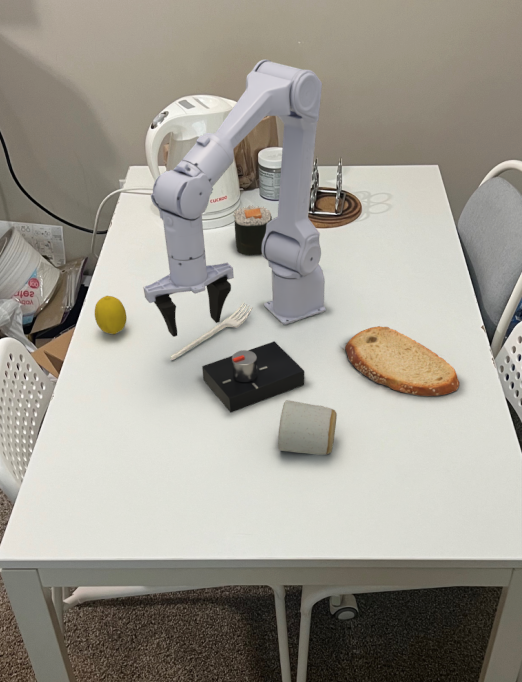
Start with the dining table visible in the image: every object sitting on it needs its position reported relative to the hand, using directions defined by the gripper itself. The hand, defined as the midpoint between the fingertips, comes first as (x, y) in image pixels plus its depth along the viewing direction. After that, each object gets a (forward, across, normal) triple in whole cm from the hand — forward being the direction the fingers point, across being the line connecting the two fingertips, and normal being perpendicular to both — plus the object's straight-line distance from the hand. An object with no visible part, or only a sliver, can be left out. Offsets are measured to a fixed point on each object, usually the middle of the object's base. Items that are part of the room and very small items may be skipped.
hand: (194, 326), depth 123 cm
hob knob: (+6, +5, -9) cm, 12 cm away
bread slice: (+9, +31, -16) cm, 36 cm away
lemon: (+9, -8, +18) cm, 22 cm away
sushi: (+9, +30, +34) cm, 46 cm away
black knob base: (+9, +7, -8) cm, 14 cm away
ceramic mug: (+9, +7, -25) cm, 27 cm away
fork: (+9, +6, +8) cm, 14 cm away
